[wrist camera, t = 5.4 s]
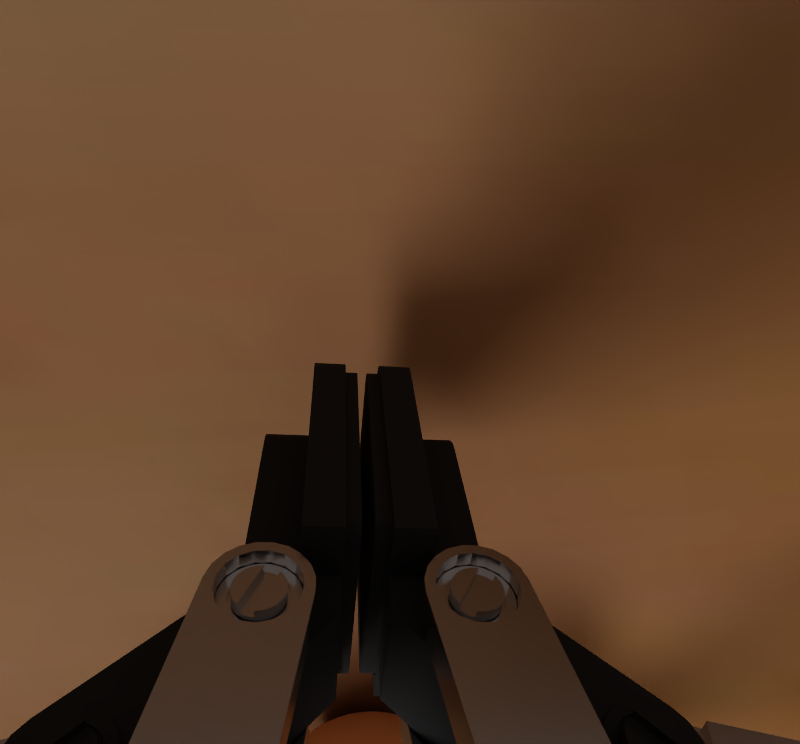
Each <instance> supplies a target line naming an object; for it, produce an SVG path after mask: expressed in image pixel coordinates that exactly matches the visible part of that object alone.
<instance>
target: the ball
mask: <svg viewBox="0 0 800 744" xmlns="http://www.w3.org/2000/svg"><path fill="white" fill-rule="evenodd" d="M307 744H403V742H402V738H401V730H400V717H399V716H398V715H397V714H392V713H387V712H377V711H367V712H357V713H351V714H347V715H344V716H340V717H337V718H335V719H333V720H331V721H328V722H326V723H324V724H323V725H321V726H319V727H318V728H316V729H314V730H313V731H312V732H311V733H309V738H308V743H307Z"/></svg>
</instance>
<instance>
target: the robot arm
mask: <svg viewBox="0 0 800 744" xmlns="http://www.w3.org/2000/svg"><path fill="white" fill-rule="evenodd" d="M357 588H358V633H359V670H360V673H373V696H380V700H381V701H382V702H384V703H385V704H386V705H387V706H388V707H389V708H390V709H391V710H392V711H394V712H395V713H396V714H397V715H398V716H399V717H400V730H401V738H402V742H403V744H800V741H798V740H793V739H788V738H784V737H779V736H775V735H770V734H765V733H761V732H756V731H751V730H747V729H742V728H737V727H733V726H728V725H723V724H719V723H714V722H709V721H706V723H705V725H704V726H703V728H697V727H693V726H692V725H691V724H690V723H689V722H688V721H687V720H686V719H685V718H684V717H682V716H681V715H680V714H679V713H678V712H676V711H675V710H674V709H673V708H672V707H670V706H669V705H667V704H666V703H664V702H663V701H661V700H660V699H659V698H657V697H656V696H654V695H653V694H651V693H650V692H648V691H647V690H645V689H644V688H643V687H641V686H640V685H638V684H637V683H635V682H634V681H632V680H631V679H629V678H628V677H626V676H625V675H624V674H622V673H621V672H619V671H618V670H616V669H615V668H613V667H612V666H610V665H609V664H608V663H606V662H605V661H603V660H602V659H600V658H599V657H597V656H596V655H594V654H593V653H591V652H590V651H589V650H587V649H586V648H584V647H583V646H581V645H580V644H578V643H577V642H575V641H574V640H572V639H571V638H570V637H568V636H567V635H565V634H564V633H562V632H561V631H559V630H558V629H556V628H555V627H554V626H552V625H551V623H550V621H549V619H548V617H547V615H546V613H545V611H544V609H543V607H542V605H541V603H540V601H539V599H538V597H537V595H536V593H535V591H534V589H533V587H532V585H531V583H530V581H529V579H528V578H527V576H526V575H525V573H524V572H523V571H522V569H521V568H520V567H519V566H518V565H517V564H516V563H514V562H513V561H512V560H511V559H510V558H509V557H507V556H505V555H503V554H501V553H499V552H497V551H495V550H493V549H489V548H485V547H481V546H478V543H477V539H476V535H475V531H474V526H473V522H472V518H471V514H470V510H469V506H468V502H467V498H466V494H465V490H464V486H463V482H462V478H461V474H460V470H459V466H458V462H457V458H456V453H455V449H454V446H453V443H452V442H451V441H449V440H423V439H422V434H421V428H420V422H419V417H418V411H417V406H416V400H415V395H414V389H413V383H412V378H411V372H410V368H407V367H386V366H379V367H378V373H377V374H366V382H365V394H364V406H363V417H362V429H361V441H360V438H359V409H358V380H357V373H346V367H345V364H325V363H315V367H314V379H313V391H312V403H311V415H310V428H309V436H307V435H278V434H266V436H265V440H264V445H263V451H262V456H261V462H260V467H259V473H258V478H257V484H256V489H255V495H254V500H253V505H252V511H251V516H250V522H249V527H248V533H247V538H246V544H245V545H241V546H238V547H236V548H234V549H232V550H230V551H228V552H225V553H224V554H222V555H221V556H220V557H219V558H218V559H216V560H215V561H214V562H213V563H212V564H211V565H210V567H209V568H208V570H207V571H206V573H205V574H204V576H203V577H202V580H201V582H200V584H199V586H198V589H197V591H196V593H195V595H194V598H193V600H192V602H191V604H190V607H189V609H188V611H187V613H186V615H184V616H183V617H181V618H180V619H178V620H177V621H175V622H174V623H172V624H171V625H169V626H168V627H166V628H165V629H163V630H162V631H160V632H159V633H157V634H156V635H154V636H153V637H151V638H150V639H148V640H147V641H145V642H144V643H142V644H141V645H140V646H138V647H137V648H135V649H134V650H132V651H131V652H129V653H128V654H126V655H125V656H123V657H122V658H120V659H119V660H117V661H116V662H114V663H113V664H111V665H110V666H108V667H107V668H105V669H104V670H102V671H101V672H99V673H98V674H96V675H95V676H93V677H92V678H90V679H89V680H87V681H86V682H84V683H83V684H81V685H80V686H78V687H77V688H75V689H74V690H72V691H71V692H69V693H68V694H66V695H65V696H63V697H62V698H61V699H59V700H58V701H56V702H55V703H53V704H52V705H50V706H49V707H47V708H46V709H44V710H43V711H41V712H40V713H38V714H37V715H35V716H34V717H32V718H31V719H30V720H28V721H27V722H26V723H25V724H24V725H22V726H21V727H20V728H19V729H18V730H16V731H15V732H14V733H13V734H12V735H11V736H10V737H9V738H7V739H3V740H0V744H307V743H308V738H309V725H310V724H311V723H312V722H313V721H314V720H315V719H316V718H317V717H318V716H319V715H320V714H321V713H322V712H323V711H324V710H325V709H326V708H327V707H328V706H330V705H331V704H332V703H333V702H334V701H335V697H336V684H337V673H349V666H350V655H351V644H352V634H353V623H354V613H355V602H356V592H357Z"/></svg>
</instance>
